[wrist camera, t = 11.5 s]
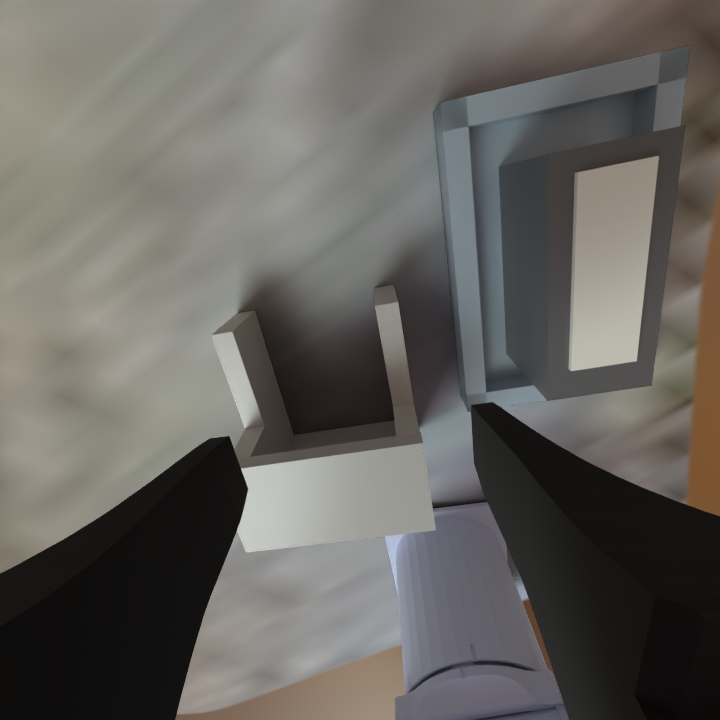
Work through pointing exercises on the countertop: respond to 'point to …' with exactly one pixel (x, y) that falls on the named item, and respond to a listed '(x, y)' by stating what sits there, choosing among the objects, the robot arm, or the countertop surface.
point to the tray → (517, 143)
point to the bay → (266, 388)
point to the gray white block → (588, 261)
